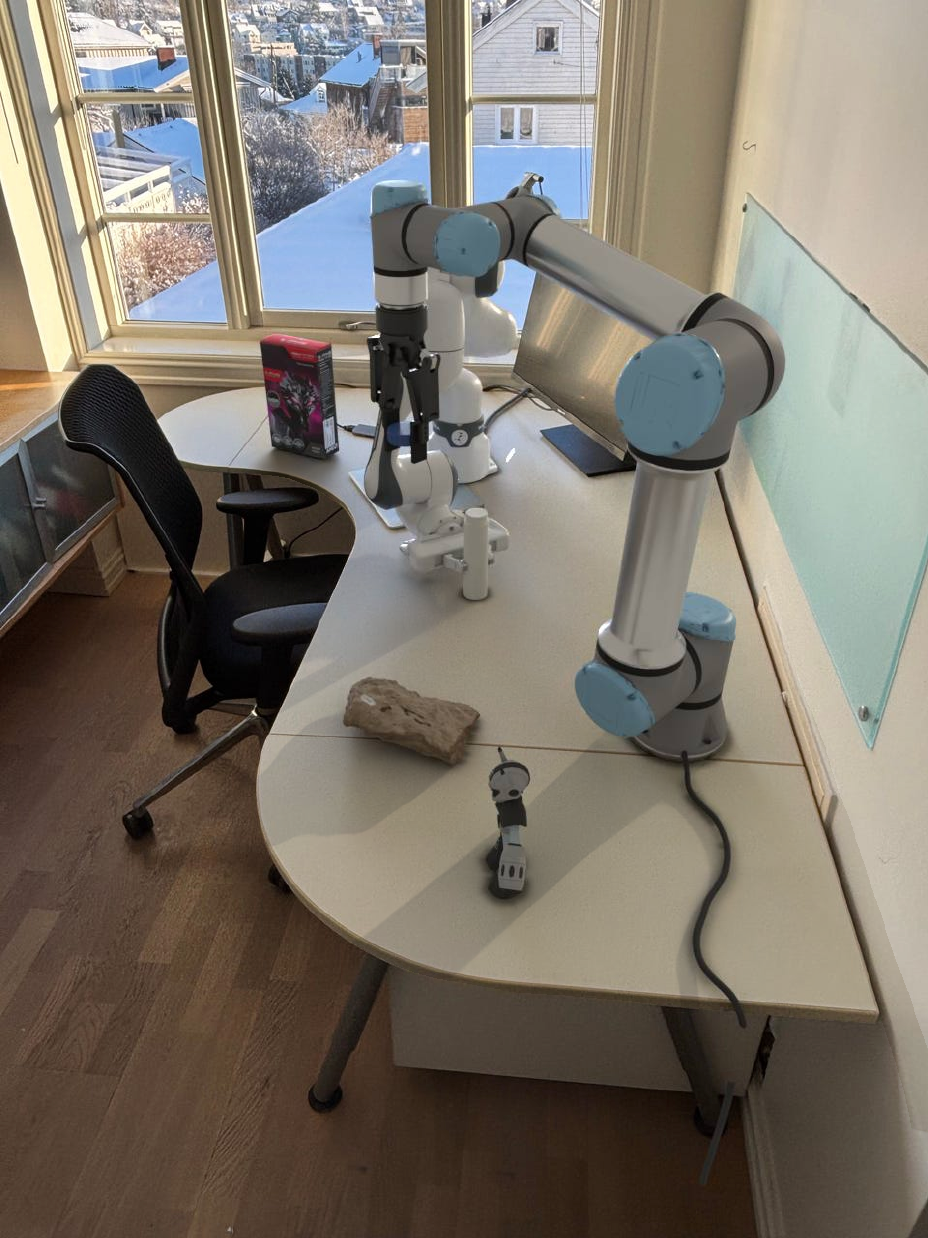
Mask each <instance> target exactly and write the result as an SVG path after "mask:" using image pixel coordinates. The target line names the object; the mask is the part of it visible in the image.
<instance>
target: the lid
mask: <svg viewBox="0 0 928 1238" xmlns="http://www.w3.org/2000/svg"><path fill="white" fill-rule="evenodd" d="M387 439H388V442H389V443H390V444H392V445H395V446H401V448H402V447H405V448H407V447H411V446H410V421H405V422H396V423H393V424H391V425H389V426H388V428H387Z"/></svg>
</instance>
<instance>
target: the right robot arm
mask: <svg viewBox="0 0 928 1238" xmlns="http://www.w3.org/2000/svg"><path fill="white" fill-rule="evenodd" d="M427 191H428V190H427V187H426V185H425V184H424V183H421V182H420V181H415V180H406V179H405V180H404V179H403V180H401V179H397V180H396V179H395V180H394V179H393V180H384V181H380V182H377V183H375V184H374V185H373V186H372V188H371V192H370V193H371V194H370V215H369V219H370V225H371V227H370V228H371V245H372V246H371V247H372V263H373V265H372V266H373V298H374V300H375V301H376V302H377V303H376V304H375V306H374V312H375V313H374V315H375V329H376V330H377V332H379V334H377V335H374V336H370V337H367V338H366V346H367V349H368V354H369V385H370V388H369V389H370V391H369V392H370V401H372V403H376V404H377V405H378V408H379V409H381V417H382V427H383V428H384V449H385V451H386V452H390V451H393V450H396V449H398V448H399V449H401V448H402V446H395V445H392V444H390V443H389V442H388V439H387V428H388V426H389V425H391V424H393V423H396V422H400V408H398V407H394V408H393V406H395V405H398V404H399V402H398V401H396V398H397V393H398V387H399V381H400V375H401V373H402V376H403V377H404V378H405V379H406V384H407V389H408V394H409V399H410V403H411V408H412V412H411V413H412V417H413V420H410V421H409V422H410V446H409V447H410V454H411V463H413V464H416V463H419V462H421V461H424V460H426V459H427V442H428V441H429V437H430V423H432V421H434V420H437V419H439V417H440V414H439V380H438V369H439V365H440V361H441V357H440V355H439V354H438V353H437V354H431V353H430V352H429V351H428V350H426V344H425V340H424V334H425V332H426V331H427V329H428V305H427V304H426V302H425V301H426V300H427V299H428V273H427V270H428V267H431V268H434V269H438V270H442V271H445V272H449V273H450V274H454V275H456V276H468V277H479V276H482V275H484V274H485V273H487V271H488V270H489V269H490V268H491V267H493V265H494V264H495V263H496V262H500V261H505V262H506V261H509V260H513V261H516V262H518V263H519V264H521V265H523V266H524V267H527V268H528V269H530V270H532V271H534V272H536V273H537V274H539V275H541V276H543V277H544V278H546V279H547V280H549V281H551V282H553V283H554V284H556V285H558V286H559V287H561V288H563V289H565V290H566V291H567V292H570V293H571V294H573V295H575V296H576V297H578V298H580V299H581V300H583V301H585V302H587V304H589V305H592V306H593V307H594V308H597V309H598V310H600V311H602V312H603V313H605V314H607V315H608V316H610V317H612V318H614V319H615V320H617V321H619V322H620V323H622V324H624V325H625V326H627V327H629V328H630V329H632V330H634V331H636V332H637V333H639V334H640V335H642V336H644V337H646V338H648V339H649V340H651V341H652V342H651V343H650V344H648V345H647V346H645V347H643V348H641V349H639V350H638V351H637V352H636V353H635V354H633V355H632V356H631V357H630V358H629V360H628V361H627V363H625V365H624V367H623V368H622V370H621V372H620V374H619V376H618V379H617V382H616V386H615V390H614V397H613V398H614V399H613V400H614V401H613V402H614V413H615V417H616V421H618V422H620V424H621V425H622V427H620V432H622V435H623V436H624V437H625V438H626V440H627V441H626V448H627V451H628V453H629V454H630V455H631V456H632V458H633V459H634V460H635V461H636V468H635V475H634V479H633V487H632V494H631V500H630V505H629V512H628V519H627V523H626V531H625V537H624V543H623V550H622V555H621V562H620V567H619V568H620V569H619V574H618V582H617V587H616V593H615V599H614V606H613V612H612V617H611V618H610V619H607V620H606V621H605V622H604V623H603V624H602V625H601V626H600V628H599V630H598V633H597V639H596V645H595V651H594V656H593V658H592V659H591V661H588V662H586V663H583V665H582V667H581V668H580V669H579V670H578V671H577V672H576V675H575V678H574V691H575V695H576V698H577V700H578V702H579V704H580V707H582V709H583V711H584V712H585V714H586V715H587V717H588V718H589V719H590V720H591V721H592V722H593V723H594V724H595V725H596V726H597V727H598V728H600V729H602V730H603V731H605V732H606V733H608V734H610V735H612V736H615V737H619V738H625V739H626V738H627V739H628V738H630V739H631V741H632V742H634V744H636V745H637V746H638V747H639V748H640V749H641V750H643V751H645V752H646V753H648V754H650V755H651V756H654V757H656V758H659V759H662V760H666V761H670V762H675V763H682V765H683V772H684V785H685V789H686V791H687V793H688V795H689V797H690V799H692V801H693V802H694V803H695V805H697V806H698V807H699V808H700V809H701V811H703V812H704V813H705V814H706V815H707V816H708V817H709V818H710V819H711V820H712V821H713V823H714V824H715V826H716V828H717V829H718V832H719V834H720V836H721V840H722V845H723V864H722V868H721V872H720V874H719V876H718V878H717V879H716V882H715V883H714V884H713V886H712V887H711V889H710V890H709V891H708V893H707V895H706V896H705V898H704V900H703V902H702V906H701V908H700V911H699V914H698V917H697V919H696V922H695V925H694V928H693V932H692V933H693V934H692V935H693V936H692V949H693V954H694V955H693V956H694V958H695V961H696V963H697V965H698V967H699V969H700V971H702V973H703V974H704V975H705V977H706V978H707V979H708V980H709V981H710V982H711V983H712V984H714V985H715V986H716V987H717V988H718V989H719V990H720V991H721V992H722V993H723V994H724V995H725V996H726V998H727V999H728V1000H729V1002H730V1003H731V1006H732V1007H733V1009H734V1010H735V1014H736V1017H737V1021H738V1024H739V1027H740V1028H742V1029H747V1027H748V1024H747V1017H746V1014H745V1012H744V1009H743V1005H742V1004H741V1002H740V1001H739V999H738V997H737V996H736V994H735V993H734V992H733V990H732V989H731V988H730V987H729V986H728V985H727V984H726V983H725V982H724V981H723V980H721V978H720V977H718V976H717V975H716V974H715V973H714V972H713V971H712V969H710V968H709V966H708V965H707V963H706V962H705V960H704V958H703V955H702V949H701V934H702V930H703V927H704V924H705V921H706V918H707V915H708V912H709V909H710V906H711V904H712V902H713V900H714V898H715V897H716V895H717V894H718V893H719V891H720V889H721V888H722V886H723V885H724V884H725V882H726V880H727V877H728V875H729V872H730V868H731V860H732V859H731V856H732V852H731V850H732V849H731V844H730V839H729V836H728V833H727V830H726V828H725V826H724V824H723V822H722V820H721V819H720V818H719V816H718V815H717V813H715V811H713V809H711V808H710V807H709V806H708V805H707V804H706V803H705V802H703V800H701V799H700V797H699V796H698V795H697V793H696V792H695V790H694V789H693V786H692V781H691V780H692V779H691V768H690V763H694V762H700V761H703V760H706V759H709V758H711V757H714V755H716V754H718V752H720V751H721V750H722V748H723V747H724V744H725V743H726V740H727V739H726V738H727V733H728V721H727V716H726V712H725V708H724V707H725V706H724V701H723V692H724V686H725V682H726V678H727V674H728V669H729V664H730V659H731V654H732V651H733V647H734V642H735V640H736V636H737V635H736V627H737V617H736V616H735V614H734V613H733V611H732V609H731V608H730V607H729V606H727V605H726V604H725V603H723V602H722V601H720V600H719V599H717V598H714V597H712V596H709V595H707V594H702V593H698V592H691V591H687V589H688V585H689V580H690V576H691V572H692V571H691V570H692V566H693V561H694V557H695V554H696V553H695V552H696V548H697V543H698V538H699V534H700V529H701V524H702V519H703V515H704V511H705V505H706V501H707V497H708V492H709V488H710V483H711V480H712V479H711V478H712V473H715V472H716V471H718V470H720V469H721V468H723V467H724V466H725V465H726V464H727V463H728V461H729V459H730V455H731V451H732V447H733V441H734V437H735V434H736V433H735V432H736V429H737V425H738V423H739V422H741V421H742V420H745V419H746V418H748V417H750V416H752V415H754V414H756V413H758V412H759V411H761V410H762V409H763V408H765V407H766V406H767V405H768V404H769V403H770V401H772V400H773V398H774V397H775V395H776V394H777V392H778V391H779V389H780V387H781V384H782V382H783V380H784V375H785V370H786V369H785V368H786V356H785V350H784V346H783V343H782V340H781V338H780V336H779V334H778V332H776V330H775V328H774V327H773V326H772V324H770V323H769V322H768V321H767V320H766V319H765V318H764V317H762V315H760V314H758V313H757V312H756V311H754V310H752V309H751V308H749V307H748V306H746V305H744V304H743V303H741V302H739V301H737V300H735V299H733V298H732V297H729V296H727V295H726V294H723V293H722V292H719V291H714V292H710V293H708V294H704V293H702V292H701V291H699V290H697V289H695V288H693V287H691V286H690V285H688V284H685V283H684V282H682V281H680V280H678V279H676V278H674V277H673V276H670V275H669V274H667V273H665V272H663V271H661V270H660V269H658V268H655V267H654V266H652V265H650V264H648V263H647V262H645V261H643V260H641V259H640V258H637V257H635V256H633V255H631V254H629V253H628V252H626V251H624V250H622V249H620V248H619V247H617V246H615V245H613V244H611V243H609V242H608V241H605V240H604V239H602V238H600V237H598V236H596V235H594V234H592V233H590V232H588V231H587V230H585V229H583V228H581V227H579V226H578V225H576V224H574V223H572V222H570V221H568V220H567V219H564V218H563V217H562V213H561V211H560V209H559V208H558V206H557V205H556V203H555V201H554V200H553V199H552V198H551V197H550V196H547V195H544V194H521V195H518V196H515V197H510V198H506V199H505V198H504V199H499V200H494V201H489V202H482V203H477V204H476V203H475V204H470V205H465V206H458V207H444V206H438V205H434V204H431V203H429V197H428V192H427ZM413 368H416V369H414V370H410V369H413ZM409 370H410V371H409ZM735 1087H736V1083H735V1082H731V1081H727V1084H726V1089H725V1092H724V1098H723V1101H722V1105H721V1108H720V1113H719V1116H718V1120H717V1123H716V1126H715V1129H714V1133H713V1135H712V1138H711V1141H710V1144H709V1148H708V1150H707V1152H706V1153H707V1154H706V1157H705V1160H704V1163H703V1166H702V1169H701V1173H700V1176H699V1180H698V1183H699V1185H700V1186H701V1187H704V1186H706V1184H707V1180H708V1177H709V1174H710V1170H711V1167H712V1164H713V1161H714V1157H715V1155H716V1153H717V1152H716V1151H717V1149H718V1146H719V1142H720V1141H721V1138H722V1135H723V1131H724V1128H725V1126H726V1123H727V1119H728V1115H729V1111H730V1108H731V1104H732V1101H733V1096H734V1091H735Z"/></svg>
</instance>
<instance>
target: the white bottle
mask: <svg viewBox="0 0 928 1238" xmlns="http://www.w3.org/2000/svg"><path fill="white" fill-rule="evenodd" d="M465 511H466V513H465V516H466V518H465V519H464V554H463V560H464V561H465V562H466V563H467V571H464V572H462V573H463V574H462V575H463V576H462V579H463V580H462V594H463V596H464V597H465V598H466V599H468V600H470V601H471V600H472V601H480V600H483V599H485V598H487V596H488V588H489V587H488V584H489V581H488V580H489V565H488V549H489V519H488V518H489V512H488V510H487V509H486V508H483V507H469V508H468V509H466V510H465Z"/></svg>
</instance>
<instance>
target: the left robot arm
mask: <svg viewBox="0 0 928 1238" xmlns="http://www.w3.org/2000/svg"><path fill="white" fill-rule="evenodd" d="M505 272H506V260H505V261H500V262H496V263H495V264H494V265H493V267H491V268H490V269H489V270H488V271H487V273H485V274H484V275H482V276H479V277H468V276H456V275H454V274H450V273H449V272H445V271H442V270H438V269H434V268H431V267H428V270H427V273H428V299H427V300H426V301H425V302H426V304H427V305H428V329H427V331H426V332H425V334H424V340H425V344H426V350H428V351H429V352H430V353H431V354H437V353H438V354H439V355H440V357H441V361H440V365H439V369H438V380H439V414H440V417H439V419H437V420H434V421H431V425H432V432H431V434H429V441H428V442H427V459H426V460H424V461H421V462H419V463H416V464H413V463H411V453H409V454H408V453H407V454H400V455H399V452H400V448H398V449H396V450H393V451H390V452H386V451H385V449H384V428H383V427H382V417H381V409H380V408H379V410H378V414H377V420H376V426H375V431H374V434H373V435H374V436H373V441H372V447H371V452H370V455H369V458H368V462H367V464H366V467H365V470H364V475H363V488H364V493H365V495H366V498H368V500H370V502H371V503H373V504H374V505H375V506H376V507H379V508H380V509H383V510H385V511H389V510H392V509H394V511H395V513H396V516H397V517H398V519H399V520H400V522H401V524H402V525H403V526H404V527H405V528H406V529H407V530H408V531H409V532H410V533H411V534H412V535H413V536H414V537H415V538H414V537H413V538H411V539H409V540H406V541H404V542H403V543H402V544H400V546H399V551H400V552H401V553H402V554H403V555H405V556H407V559H408V562H410V564H411V566H412V567H413V569H414V570H415V571H416V572H419V573H426V572H430V571H434V570H438V569H441V568H444V567H445V568H447V569H452V570H455V571H457V572H458V573H463V572H464V571H467V563H466V562H465V561H464V560H463V554H464V519H465V518H466V516H465V513H466V511H467V510H462V509H461V510H460V509H451V508H450V507H452V505H453V503H454V500H455V498H456V495H457V492H458V488H459V484H468V483H474V482H477V481H480V480H482V479H483V478H485V477H486V476H488V475H490V474H495V473H496V472H498V466H497V465H496V463H495V461H494V460H493V459H492V457H491V440H490V438H489V437H488V434H487V433H488V430H487V428H488V426H489V424H490V423H491V421H492V420H494V417H496V416H497V415H498V414H499V413H500V412H501V411H503V410H504V409H506V408H507V407H508V406H510V405H511V404H513V403H514V402H516V401H517V400H519V399H520V398H522V397H523V396H524V395H525V394H526V393H528V392H529V391H530V389H529V388H527V386H525V388H524V389H523V390H522V391H521V392H519V393H518V394H517V395H515V396H514V397H513V398H511V399H509V400H508V401H506V402H504V404H502V405H501V406H499V407H498V408H497V409H495V410H494V411H493V412H492V413H491V414H490V415H489V416H488V418H486V420H485V416H484V414H483V383H482V381H481V380H480V378H479V377H478V376H477V375H476V374H475V373H474V372H472V371H470V370H468V369H466V368H465V367H463V366H464V360H465V358H467V359H469V358H470V359H490V358H497V357H502V356H506V355H508V354H509V353H510V352H511V351H512V350H513V349H514V347H515V345H516V343H517V339H518V332H519V331H518V330H519V329H518V325H517V321H516V319H515V316H514V315H513V313H511V312H510V310H508V309H507V308H504V307H502V306H500V305H498V304H497V303H495V302H494V301H492V299H490V298H491V297H493V296H494V295H495V294H496V293H497V292H498V291H499V289H500V286H501V284H502V282H503V279H504V278H505ZM414 369H416V368H413V369H410V370H414ZM410 370H409V371H410ZM396 401H398V402H399V404H398V405H395V406H393V408H394V407H398V408H400V422H406V420H407V419H408V417H409V415H410V414H411V413H412V408H411V403H410V399H409V394H408V389H407V384H406V379H405V378H404V377H403V376H402V373H401V375H400V381H399V387H398V393H397V398H396ZM515 452H516V450H515V448H513V449H512V450H511V451H510V453H509V454H508V455H507V457H506V461H505V462H506V463H508V462H509V460H510V459H511V458H512V457H513V455H514V453H515ZM458 479H459V480H458ZM488 519H489V549H488V566H489V565H493V564H496V556H495V554H497V553H501V552H505V551H507V550H508V549H509V546H510V542H511V541H510V537H511V536H510V532H509V530H508V529H506V528H505V527H504V526H503V525H502V524H500V523H499V522H498V521H497V520H495V519H493V518H492V517H491V518H490V517H488Z"/></svg>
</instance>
